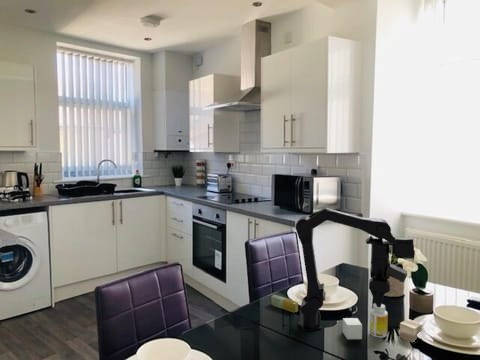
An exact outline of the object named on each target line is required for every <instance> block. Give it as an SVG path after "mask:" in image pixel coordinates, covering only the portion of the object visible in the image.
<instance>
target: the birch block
mask: <svg viewBox="0 0 480 360" xmlns="http://www.w3.org/2000/svg"><path fill="white" fill-rule="evenodd" d="M421 331H422V332H423V324H422V323H420V322H417V321H415V320H412V319H409V318H408V319H405V320H403V321H401V322H399V337H400V338H401V339H403V340H405V341H407V342H411V343H413V342H415V340H416V339H417V334H418V333H419V332H421ZM415 343H416V342H415Z"/></svg>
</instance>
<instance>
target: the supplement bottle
mask: <svg viewBox="0 0 480 360" xmlns="http://www.w3.org/2000/svg"><path fill="white" fill-rule="evenodd" d="M388 314H389V313H388V311H387V310H386V305H385V304H383V303H382V304H381V307H377V306H376V303H375V302H374V303H373V304H372V308H371V309H370V314H369V315H370V316H369V317H370V318H369V333H370V334H371V335H372V337H375V338H379V339H382V338H385V337H388V318H389V315H388Z"/></svg>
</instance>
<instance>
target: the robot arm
mask: <svg viewBox="0 0 480 360" xmlns="http://www.w3.org/2000/svg"><path fill="white" fill-rule="evenodd" d="M326 221H328V222H331V223H336V224H338V225H339V224H340V225H344V226H347V227H350V228H354V229H357V230H360V231H363V232H365V233H366V234H368V235H370V236H369V237H368V238H366V239H365V243H366V245H371V248H370V249H371V250H370V251H371V252H370V254H371V255H370V268H369V269H370V274H369V275H370V279H369V281H368V282H369V283H368V290H369V291H370V294H371V297H372V298H373V300H374V304H375V303H376V306H377V307H381V304H383V299H384V297H385V294H388V293H389V292H390V290H391V282H390V281H389V279H391V278H393V279H395V280H398V281H399V282H400V283H405V282H406V281H405V280H406V278H407V276H408V270H406V269H405V268H404V265H403V263H401V262H397V263H396V264H392V263H391V260H390V254H391V255H392V256H393V257H394V258H395V259H404V260H414V259H415V256H416V254H415V253H416V251H415V244H414V239H413V238H412V237H407V238H405V237H404V238H403V237H396V236H395V235H394V234H393V233H392V232H391V231H392V227H391V226H390V225H389V223H388V222H387V220H385V219H383V218H375V217H362V216H357V215H354V214H352V213H351V214H350V213H346V212H342V211H338V210H336V209H332V208H329V207H323V208H322V209H319V210H318V211H316V212H313V213H312V214H309V216H307V215H305V216H301V217H299V219H298V220H297V221H296V224H295V231H296V234H297V237H298V239H299V241H300V244H301V247H302V253H303V262H304V267H305V268H304V269H305V273H306V280H307V281H306V282H307V284H306V285H307V286H306V296H304V297H303V298H302V300H301V304H300V308H299V321H297V325H299V326H300V328H302V329H303V331H304V332H309V331H316V330H322V329H323V328H322V326H321V317H322V315H321V313H320V309H322V307H323V306H324V302H326V294H327V293H326V291H325V283H323V282H322V283H321V282H320V281H319V276H318V270H317V268H318V267H317V262H316V255H315V248H314V241H313V240H314V229H315V228H317V227H319V226H320V225H321V224H323V223H324V222H326Z"/></svg>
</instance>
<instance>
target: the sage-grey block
mask: <svg viewBox="0 0 480 360" xmlns="http://www.w3.org/2000/svg"><path fill="white" fill-rule="evenodd" d="M342 333H343V335H344V336H345V338H346V340H362V339H363V324H362V323H361V321H360V320H359V318H358V317H350V318H349V317H345V318H344V317H343V318H342Z"/></svg>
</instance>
